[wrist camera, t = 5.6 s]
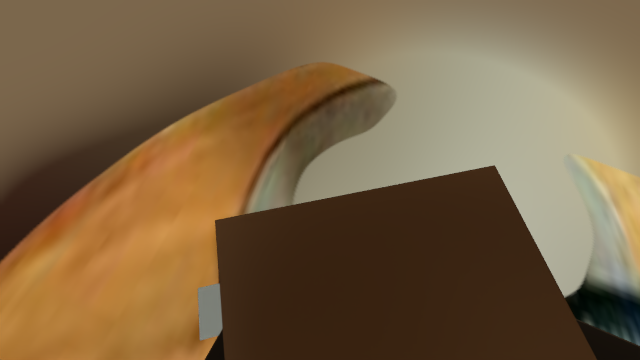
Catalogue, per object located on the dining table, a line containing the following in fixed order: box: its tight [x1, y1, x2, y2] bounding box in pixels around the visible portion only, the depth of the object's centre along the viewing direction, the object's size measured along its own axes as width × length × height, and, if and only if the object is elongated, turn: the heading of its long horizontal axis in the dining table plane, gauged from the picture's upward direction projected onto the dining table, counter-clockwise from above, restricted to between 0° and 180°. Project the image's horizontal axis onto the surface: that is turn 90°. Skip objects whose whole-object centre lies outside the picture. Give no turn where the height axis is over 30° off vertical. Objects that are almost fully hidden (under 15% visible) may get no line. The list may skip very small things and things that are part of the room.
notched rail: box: [198, 283, 223, 340], centre depth 18 cm, size 3×16×4 cm, turn 102°
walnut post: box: [215, 166, 597, 360], centre depth 8 cm, size 4×4×12 cm
